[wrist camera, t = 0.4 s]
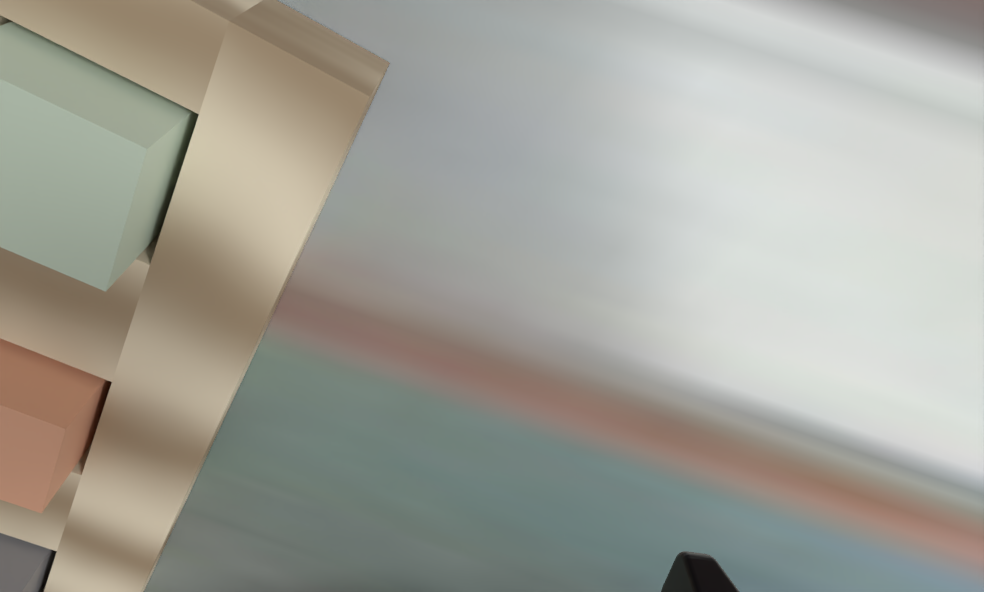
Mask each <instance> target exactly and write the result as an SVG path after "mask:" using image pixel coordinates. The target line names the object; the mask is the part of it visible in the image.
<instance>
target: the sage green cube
mask: <svg viewBox="0 0 984 592" xmlns="http://www.w3.org/2000/svg"><path fill="white" fill-rule="evenodd" d="M198 116H199V114H197V113H195V112H193V111H191V110H189V109H187V108H185V107H183V106H181V105H179V104H177V103H175V102H173V101H171V100H169V99H167V98H165V97H163V96H161V95H159V94H157V93H155V92H153V91H151V90H149V89H147V88H145V87H143V86H141V85H139V84H137V83H135V82H133V81H131V80H129V79H127V78H125V77H123V76H121V75H119V74H117V73H115V72H113V71H111V70H109V69H107V68H105V67H103V66H101V65H99V64H97V63H95V62H93V61H91V60H89V59H87V58H85V57H83V56H81V55H79V54H77V53H75V52H73V51H71V50H69V49H67V48H65V47H63V46H61V45H59V44H57V43H55V42H53V41H51V40H49V39H47V38H45V37H43V36H41V35H39V34H37V33H35V32H33V31H31V30H29V29H27V28H25V27H23V26H21V25H19V24H17V23H15V22H13V21H12V22H9V23H6V24H4V25H1V26H0V247H1V248H4V249H6V250H8V251H11V252H13V253H15V254H18V255H20V256H23V257H25V258H27V259H30V260H32V261H34V262H37V263H39V264H41V265H44V266H46V267H49V268H51V269H53V270H56V271H58V272H60V273H63V274H65V275H68V276H70V277H72V278H75V279H77V280H79V281H82V282H84V283H86V284H89V285H91V286H94V287H96V288H98V289H101V290H103V291H105V292H106V291H107V290H108V289H109V288H110V287H111V285H112V284H113V283H114V282H115V281H116V280H117V279H118V278H119V277H120V276H121V275H122V273H123V272H124V271H125V270H126V269H127V268H128V267H129V266H130V265H131V264H132V263H133V262H134V260H135V259H136V258H137V257H138V256H139V255H140V254H141V253H142V252H143V251H144V250H145V249H146V247H147V246H148V245H149V244H150V243H151V242H152V241H153V240H154V239H155V238H156V237H157V235H158V234H159V233H160V232H161V229H162V226H163V223H164V220H165V217H166V214H167V211H168V208H169V205H170V202H171V199H172V196H173V193H174V189H175V186H176V183H177V180H178V177H179V174H180V171H181V168H182V165H183V162H184V159H185V156H186V153H187V150H188V146H189V143H190V140H191V137H192V134H193V131H194V128H195V125H196V122H197V119H198Z"/></svg>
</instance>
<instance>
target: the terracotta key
mask: <svg viewBox="0 0 984 592" xmlns="http://www.w3.org/2000/svg"><path fill="white" fill-rule="evenodd" d="M111 383H112V382H110V381H108V380H105V379H103V378H100V377H98V376H95V375H93V374H90V373H87V372H85V371H82V370H80V369H77V368H75V367H72V366H70V365H67V364H65V363H62V362H59V361H57V360H54V359H52V358H49V357H47V356H44V355H42V354H39V353H37V352H34V351H31V350H29V349H26V348H24V347H21V346H19V345H16V344H14V343H11V342H8V341H6V340H3V339H1V338H0V500H3V501H6V502H9V503H12V504H15V505H18V506H21V507H24V508H27V509H30V510H33V511H36V512H38V513H42V512H43V511H44V509H45V508H46V506H47V505H48V504H49V502H50V501H51V499H52V498H53V497H54V495H55V494H56V492H57V491H58V490H59V488H60V487H61V485H62V484H63V483H64V481H65V480H66V478H67V477H68V476H69V474H70V473H71V471H72V470H73V469H74V467H75V466H76V464H77V463H78V462H79V460H80V459H81V457H82V456H83V455H84V453H85V452H86V450H87V449H88V448H89V446H90V445H91V443H92V442H93V439H94V436H95V432H96V429H97V426H98V423H99V420H100V417H101V414H102V411H103V408H104V405H105V402H106V399H107V396H108V393H109V389H110V386H111Z"/></svg>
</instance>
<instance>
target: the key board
mask: <svg viewBox="0 0 984 592" xmlns="http://www.w3.org/2000/svg"><path fill="white" fill-rule="evenodd" d="M12 21H13V22H15V23H17V24H19V25H21V26H23V27H25V28H27V29H29V30H31V31H33V32H35V33H37V34H39V35H41V36H43V37H45V38H47V39H49V40H51V41H53V42H55V43H57V44H59V45H61V46H63V47H65V48H67V49H69V50H71V51H73V52H75V53H77V54H79V55H81V56H83V57H85V58H87V59H89V60H91V61H93V62H95V63H97V64H99V65H101V66H103V67H105V68H107V69H109V70H111V71H113V72H115V73H117V74H119V75H121V76H123V77H125V78H127V79H129V80H131V81H133V82H135V83H137V84H139V85H141V86H143V87H145V88H147V89H149V90H151V91H153V92H155V93H157V94H159V95H161V96H163V97H165V98H167V99H169V100H171V101H173V102H175V103H177V104H179V105H181V106H183V107H185V108H187V109H189V110H191V111H193V112H195V113H197V114H199V116H198V119H197V122H196V125H195V128H194V131H193V134H192V137H191V140H190V143H189V146H188V150H187V153H186V156H185V159H184V162H183V165H182V168H181V171H180V174H179V177H178V180H177V183H176V186H175V189H174V193H173V196H172V199H171V202H170V205H169V208H168V211H167V214H166V217H165V220H164V223H163V226H162V229H161V232H160V233H159V234H158V235H157V237H156V238H155V239H154V240H153V241H152V242H151V243H150V244H149V245H148V246H147V247H146V249H145V250H144V251H143V252H142V253H141V254H140V255H139V256H138V257H137V258H136V259H135V260H134V262H133V263H132V264H131V265H130V266H129V267H128V268H127V269H126V270H125V271H124V272H123V273H122V275H121V276H120V277H119V278H118V279H117V280H116V281H115V282H114V283H113V284H112V285H111V287H110V288H109V289H108V290H107V291H106V292H105V291H103V290H101V289H98V288H96V287H94V286H91V285H89V284H86V283H84V282H82V281H79V280H77V279H75V278H72V277H70V276H68V275H65V274H63V273H60V272H58V271H56V270H53V269H51V268H49V267H46V266H44V265H41V264H39V263H37V262H34V261H32V260H30V259H27V258H25V257H23V256H20V255H18V254H15V253H13V252H11V251H8V250H6V249H4V248H1V247H0V338H1V339H3V340H6V341H8V342H11V343H14V344H16V345H19V346H21V347H24V348H26V349H29V350H31V351H34V352H37V353H39V354H42V355H44V356H47V357H49V358H52V359H54V360H57V361H59V362H62V363H65V364H67V365H70V366H72V367H75V368H77V369H80V370H82V371H85V372H87V373H90V374H93V375H95V376H98V377H100V378H103V379H105V380H108V381H110V382H112V383H111V386H110V389H109V393H108V396H107V399H106V402H105V405H104V408H103V411H102V414H101V417H100V420H99V423H98V426H97V429H96V432H95V436H94V439H93V442H92V443H91V445H90V446H89V448H88V449H87V450H86V452H85V453H84V455H83V456H82V457H81V459H80V460H79V462H78V463H77V464H76V466H75V467H74V469H73V470H72V471H71V473H70V474H69V476H68V477H67V478H66V480H65V481H64V483H63V484H62V485H61V487H60V488H59V490H58V491H57V492H56V494H55V495H54V497H53V498H52V499H51V501H50V502H49V504H48V505H47V506H46V508H45V509H44V511H43V512H42V513H38V512H36V511H33V510H30V509H27V508H24V507H21V506H18V505H15V504H12V503H9V502H6V501H3V500H0V533H2V534H5V535H8V536H11V537H15V538H18V539H21V540H24V541H27V542H30V543H33V544H36V545H39V546H42V547H45V548H48V549H51V550H54V551H57V552H56V556H55V559H54V562H53V565H52V568H51V571H50V574H49V577H48V580H47V583H46V585H45V586H44V588H43V589H42V591H41V592H144V590H145V588H146V586H147V584H148V581H149V579H150V577H151V575H152V573H153V571H154V569H155V566H156V564H157V562H158V560H159V558H160V556H161V553H162V551H163V549H164V547H165V545H166V543H167V541H168V538H169V536H170V534H171V532H172V530H173V528H174V526H175V523H176V521H177V519H178V517H179V515H180V513H181V511H182V508H183V506H184V504H185V502H186V500H187V498H188V496H189V493H190V491H191V489H192V487H193V485H194V483H195V480H196V478H197V476H198V474H199V472H200V470H201V468H202V465H203V463H204V461H205V459H206V457H207V455H208V453H209V450H210V448H211V446H212V444H213V442H214V440H215V438H216V435H217V433H218V431H219V429H220V427H221V425H222V422H223V420H224V418H225V416H226V414H227V412H228V410H229V407H230V405H231V403H232V401H233V399H234V397H235V395H236V392H237V390H238V388H239V386H240V384H241V382H242V380H243V377H244V375H245V373H246V371H247V369H248V367H249V365H250V362H251V360H252V358H253V356H254V354H255V352H256V349H257V347H258V345H259V343H260V341H261V339H262V337H263V334H264V332H265V330H266V328H267V326H268V324H269V322H270V319H271V317H272V315H273V313H274V311H275V309H276V307H277V304H278V302H279V300H280V298H281V296H282V294H283V291H284V289H285V287H286V285H287V283H288V281H289V279H290V276H291V274H292V272H293V270H294V268H295V266H296V264H297V261H298V259H299V257H300V255H301V253H302V251H303V249H304V246H305V244H306V242H307V240H308V238H309V236H310V234H311V231H312V229H313V227H314V225H315V223H316V221H317V218H318V216H319V214H320V212H321V210H322V208H323V206H324V203H325V201H326V199H327V197H328V195H329V193H330V191H331V188H332V186H333V184H334V182H335V180H336V178H337V176H338V173H339V171H340V169H341V167H342V165H343V163H344V160H345V158H346V156H347V154H348V152H349V150H350V148H351V145H352V143H353V141H354V139H355V137H356V135H357V133H358V130H359V128H360V126H361V124H362V122H363V120H364V118H365V115H366V113H367V111H368V109H369V107H370V105H371V103H372V100H373V98H374V96H375V94H376V92H377V90H378V87H379V85H380V83H381V81H382V79H383V77H384V75H385V72H386V70H387V68H388V66H389V64H390V63H389V62H387V61H385V60H384V59H382V58H380V57H378V56H376V55H375V54H373V53H371V52H369V51H367V50H365V49H364V48H362V47H360V46H358V45H356V44H355V43H353V42H351V41H349V40H347V39H346V38H344V37H342V36H340V35H338V34H337V33H335V32H333V31H331V30H329V29H328V28H326V27H324V26H322V25H320V24H319V23H317V22H315V21H313V20H311V19H310V18H308V17H306V16H304V15H302V14H301V13H299V12H297V11H295V10H293V9H292V8H290V7H288V6H286V5H284V4H283V3H281V2H279V1H277V0H0V26H1V25H4V24H6V23H9V22H12Z"/></svg>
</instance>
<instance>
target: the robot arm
mask: <svg viewBox="0 0 984 592" xmlns="http://www.w3.org/2000/svg"><path fill="white" fill-rule="evenodd" d="M661 592H739V591H738V589H737V588H736V587H735V585H734V584H733V583H732V581H731V580H730V578H729V577H728V576H727V574H726V573H725V572H724V570H723V569H722V568H721V566H720V565H719V564H718V562H717V561H716V560H715V559H714V558H713V557H712V556H710V555H707V554H701V553H694V552H686V551H685V552H681V553H679V554H678V555H677V557H676V559H675V561H674V563H673V565H672V567H671V570H670V572H669V574H668V576H667V578H666V581H665V583H664V585H663V588H662V591H661Z"/></svg>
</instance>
